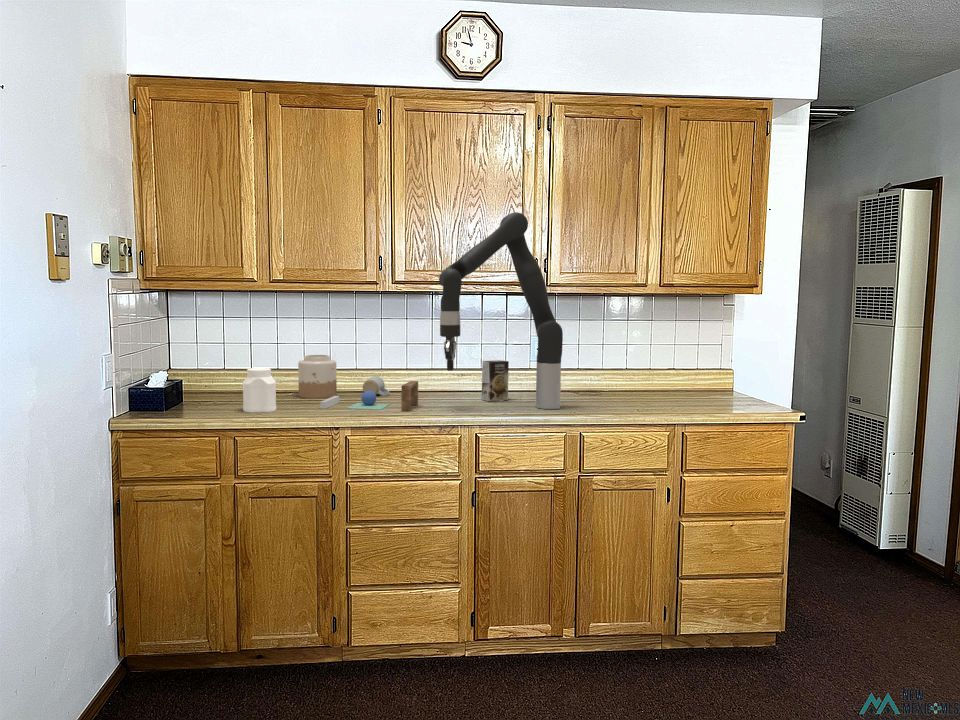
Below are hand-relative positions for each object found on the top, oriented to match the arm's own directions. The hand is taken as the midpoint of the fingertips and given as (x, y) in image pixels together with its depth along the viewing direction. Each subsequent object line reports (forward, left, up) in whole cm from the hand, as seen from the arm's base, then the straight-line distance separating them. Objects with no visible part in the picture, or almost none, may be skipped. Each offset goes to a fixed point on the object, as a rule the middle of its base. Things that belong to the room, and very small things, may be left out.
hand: (450, 370), depth 275 cm
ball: (+32, -3, -12) cm, 34 cm away
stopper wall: (+46, 0, -15) cm, 48 cm away
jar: (+67, +16, -15) cm, 71 cm away
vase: (+59, -22, -15) cm, 65 cm away
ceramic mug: (+36, -30, -15) cm, 49 cm away
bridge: (+15, 0, -15) cm, 21 cm away
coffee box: (-14, -26, -15) cm, 33 cm away
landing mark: (+31, 0, -15) cm, 35 cm away
